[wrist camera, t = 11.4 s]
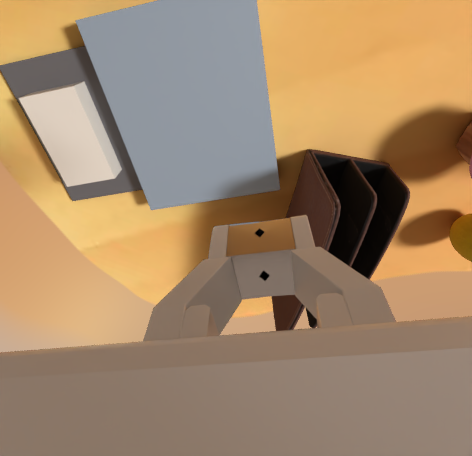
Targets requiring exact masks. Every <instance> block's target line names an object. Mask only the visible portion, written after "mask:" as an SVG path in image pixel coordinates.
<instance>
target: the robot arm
mask: <svg viewBox="0 0 472 456" xmlns="http://www.w3.org/2000/svg"><path fill="white" fill-rule="evenodd" d="M282 295H295V296H296V297H297V298H298V299H299V300H300V302H301V303H302V304H303V305H304V306H305V307H306V308H307V309H308V310H309V311H310V313H311V314H312V315H313V316H314V317H315V318H316V319H317V328H310V329H298V330H284V331H271V332H259V333H246V334H233V335H222V336H219V335H220V334H221V332H222V330H223V329H224V327H225V326H226V324H227V323H228V321H229V319H230V318H231V317H232V315H233V313H234V312H235V310H236V309H237V307H238V306H239V304H240V303H241V300H242V299H250V298H259V297H267V296H282ZM0 456H472V316H467V317H466V316H465V317H453V318H442V319H428V320H415V321H404V322H396V320H395V318H394V316H393V314H392V312H391V309H390V307H389V305H388V303H387V300H386V298H385V296H384V293H383V291H382V289H381V287H379V286H378V285H376V284H374V283H373V282H372V281H370V280H369V279H367V278H366V277H364V276H363V275H361V274H360V273H358V272H357V271H355V270H354V269H352V268H351V267H349V266H348V265H347V264H345V263H344V262H342V261H341V260H339V259H338V258H336V257H335V256H333V255H332V254H330V253H329V252H327V251H326V250H324V249H323V248H321V247H315V244H314V240H313V236H312V232H311V229H310V225H309V221H308V217H307V216H306V215H302V216H295V217H290V218H284V219H277V220H269V221H262V222H260V221H259V222H249V223H239V224H230V225H221V226H214V228H213V230H212V236H211V243H210V249H209V255H208V259H204V260H203V261H202V262H200V263H199V264H198V265H197V266H196V267H195V268H194V269H193V270H192V271H191V272H190V273H189V274H188V275H187V276H186V277H185V278H184V279H183V280H182V281H181V282H180V283H179V284H178V285H177V286H176V287H175V288H174V289H173V290H172V291H170V292H169V293H168V294H167V295H166V296H165V297H164V298H163V299H162V300H161V301H160V302H159V303H158V304H157V305H156V306H155V307H154V308H153V311H152V314H151V317H150V321H149V324H148V327H147V331H146V334H145V337H144V340H143V342H131V343H117V344H105V345H92V346H78V347H66V348H54V349H40V350H27V351H14V352H1V353H0Z"/></svg>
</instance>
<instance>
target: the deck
mask: <svg viewBox="0 0 472 456" xmlns="http://www.w3.org/2000/svg"><path fill="white" fill-rule="evenodd" d="M76 24H77V26H78V29H79V31H80V34H81V36H82V39H83V41H84V44H85V46H86V49H87V51H88V54H89V56H90V59H91V61H92V64H93V66H94V69H95V71H96V74H97V76H98V79H99V81H100V84H101V86H102V89H103V91H104V94H105V96H106V99H107V101H108V104H109V106H110V109H111V111H112V114H113V116H114V119H115V121H116V124H117V126H118V129H119V131H120V134H121V136H122V139H123V141H124V144H125V146H126V149H127V151H128V154H129V156H130V159H131V161H132V164H133V166H134V169H135V171H136V174H137V176H138V179H139V181H140V184H141V186H142V189H143V191H144V194H145V196H146V199H147V201H148V204H149V206H150V209H151V210H155V209H162V208H168V207H174V206H181V205H187V204H194V203H200V202H206V201H213V200H219V199H226V198H232V197H238V196H245V195H251V194H258V193H264V192H270V191H277V190H280V184H279V176H278V168H277V160H276V152H275V144H274V136H273V128H272V120H271V112H270V104H269V96H268V88H267V80H266V72H265V64H264V56H263V48H262V40H261V32H260V24H259V16H258V8H257V0H158V1H154V2H150V3H146V4H142V5H137V6H133V7H129V8H125V9H121V10H117V11H113V12H109V13H104V14H100V15H96V16H92V17H88V18H84V19H80V20H76Z"/></svg>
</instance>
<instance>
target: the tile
mask: <svg viewBox="0 0 472 456" xmlns="http://www.w3.org/2000/svg"><path fill="white" fill-rule="evenodd" d="M18 99H19V100H20V102H21V104H22V106H23V108H24V110H25V111H26V113H27V115H28V117H29V119H30V120H31V122H32V124H33V126H34V128H35V129H36V131H37V133H38V135H39V137H40V139H41V140H42V142H43V144H44V146H45V148H46V149H47V151H48V153H49V155H50V157H51V159H52V160H53V162H54V164H55V166H56V168H57V169H58V171H59V173H60V175H61V177H62V178H63V180H64V182H65V184H66V186H67V187H69V186H75V185H81V184H86V183H92V182H98V181H104V180H109V179H115V178H116V177H117V175H118V174H119V173H120V171H121V170H122V168H121V166H120V164H119V161H118V159H117V157H116V154H115V152H114V150H113V147H112V145H111V143H110V140H109V138H108V136H107V133H106V131H105V129H104V126H103V124H102V122H101V119H100V117H99V115H98V112H97V110H96V108H95V105H94V103H93V101H92V98H91V96H90V94H89V91H88V89H87V86H86V84H85V82H84V81H83V82H79V83H74V84H70V85H65V86H61V87H56V88H52V89H47V90H42V91H38V92H33V93H30V94H28V95H25V96H23V97H20V98H18Z"/></svg>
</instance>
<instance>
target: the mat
mask: <svg viewBox="0 0 472 456" xmlns="http://www.w3.org/2000/svg"><path fill="white" fill-rule="evenodd" d="M0 70H1V72H2V74H3V76H4V78H5V79H6V81H7V83H8V85H9V87H10V88H11V90H12V92H13V94H14V96H15V97H16V99H17V101H18V103H19V105H20V106H21V108H22V110H23V112H24V114H25V116H26V117H27V119H28V121H29V123H30V125H31V126H32V128H33V130H34V132H35V134H36V135H37V137H38V139H39V141H40V143H41V145H42V146H43V148H44V150H45V152H46V154H47V155H48V157H49V159H50V161H51V163H52V164H53V166H54V168H55V170H56V172H57V174H58V175H59V177H60V179H61V181H62V183H63V184H64V186H65V188H66V190H67V192H68V193H69V195H70V197H71V199H72V201H76V200H82V199H88V198H94V197H100V196H106V195H112V194H119V193H125V192H131V191H137V190H143V189H142V186H141V184H140V181H139V179H138V176H137V174H136V171H135V169H134V166H133V164H132V161H131V159H130V156H129V154H128V151H127V149H126V146H125V144H124V141H123V139H122V136H121V134H120V131H119V129H118V126H117V124H116V121H115V119H114V116H113V114H112V111H111V109H110V106H109V104H108V101H107V99H106V96H105V94H104V91H103V89H102V86H101V84H100V81H99V79H98V76H97V74H96V71H95V69H94V66H93V64H92V61H91V59H90V56H89V54H88V51H87V49H86V46H83V47H78V48H74V49H70V50H65V51H61V52H57V53H52V54H48V55H44V56H39V57H35V58H31V59H26V60H22V61H18V62H13V63H9V64H5V65H0ZM83 81H84V82H85V84H86V86H87V89H88V91H89V94H90V96H91V98H92V101H93V103H94V105H95V108H96V110H97V112H98V115H99V117H100V119H101V122H102V124H103V126H104V129H105V131H106V133H107V136H108V138H109V140H110V143H111V145H112V147H113V150H114V152H115V154H116V157H117V159H118V161H119V164H120V166H121V168H122V170H121V171H120V173H119V174H118V175H117V177H116V178H115V179H109V180H104V181H98V182H92V183H86V184H81V185H75V186H69V187H67V186H66V184H65V182H64V180H63V178H62V177H61V175H60V173H59V171H58V169H57V168H56V166H55V164H54V162H53V160H52V159H51V157H50V155H49V153H48V151H47V149H46V148H45V146H44V144H43V142H42V140H41V139H40V137H39V135H38V133H37V131H36V129H35V128H34V126H33V124H32V122H31V120H30V119H29V117H28V115H27V113H26V111H25V110H24V108H23V106H22V104H21V102H20V100H19V99H18V98H20V97H23V96H25V95H28V94H30V93H33V92H38V91H42V90H47V89H52V88H56V87H61V86H65V85H70V84H74V83H79V82H83Z"/></svg>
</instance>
